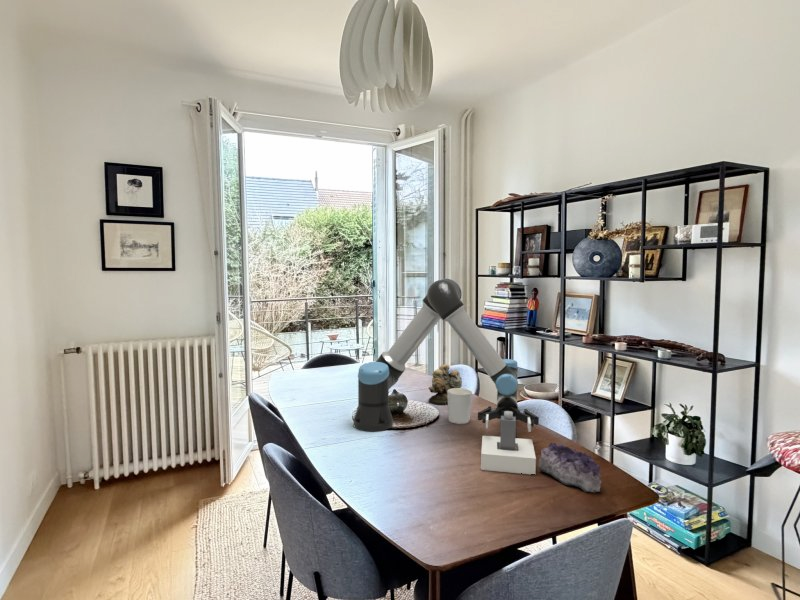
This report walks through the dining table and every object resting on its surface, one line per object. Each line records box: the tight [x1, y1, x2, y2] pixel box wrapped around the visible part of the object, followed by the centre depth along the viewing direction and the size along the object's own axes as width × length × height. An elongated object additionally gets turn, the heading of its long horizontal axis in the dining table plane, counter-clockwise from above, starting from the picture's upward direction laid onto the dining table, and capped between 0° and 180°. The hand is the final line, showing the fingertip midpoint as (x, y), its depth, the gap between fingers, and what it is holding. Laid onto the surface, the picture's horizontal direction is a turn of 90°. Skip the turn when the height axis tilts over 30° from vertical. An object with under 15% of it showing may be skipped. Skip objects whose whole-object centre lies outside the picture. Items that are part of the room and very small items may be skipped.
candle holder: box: [447, 387, 473, 425], centre depth 191 cm, size 10×10×12 cm
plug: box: [499, 411, 517, 451], centre depth 151 cm, size 4×4×15 cm
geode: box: [538, 442, 602, 494], centre depth 140 cm, size 20×12×10 cm, turn 30°
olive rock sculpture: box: [428, 364, 463, 406], centre depth 218 cm, size 18×12×17 cm, turn 117°
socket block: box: [480, 435, 537, 475], centre depth 151 cm, size 16×16×5 cm
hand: (508, 425), depth 155 cm, fingers open, 13 cm apart
